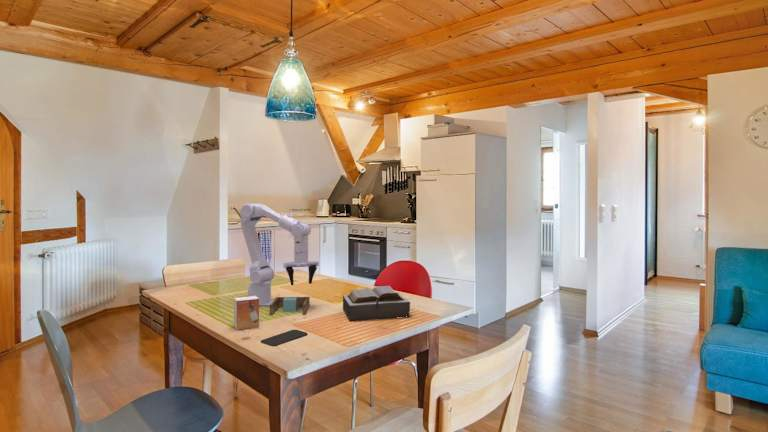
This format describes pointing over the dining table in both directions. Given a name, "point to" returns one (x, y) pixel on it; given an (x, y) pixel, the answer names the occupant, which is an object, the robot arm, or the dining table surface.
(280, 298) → the walnut crate
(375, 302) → the bible
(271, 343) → the phone
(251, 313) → the small box
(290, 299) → the teal block
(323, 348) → the dining table surface
